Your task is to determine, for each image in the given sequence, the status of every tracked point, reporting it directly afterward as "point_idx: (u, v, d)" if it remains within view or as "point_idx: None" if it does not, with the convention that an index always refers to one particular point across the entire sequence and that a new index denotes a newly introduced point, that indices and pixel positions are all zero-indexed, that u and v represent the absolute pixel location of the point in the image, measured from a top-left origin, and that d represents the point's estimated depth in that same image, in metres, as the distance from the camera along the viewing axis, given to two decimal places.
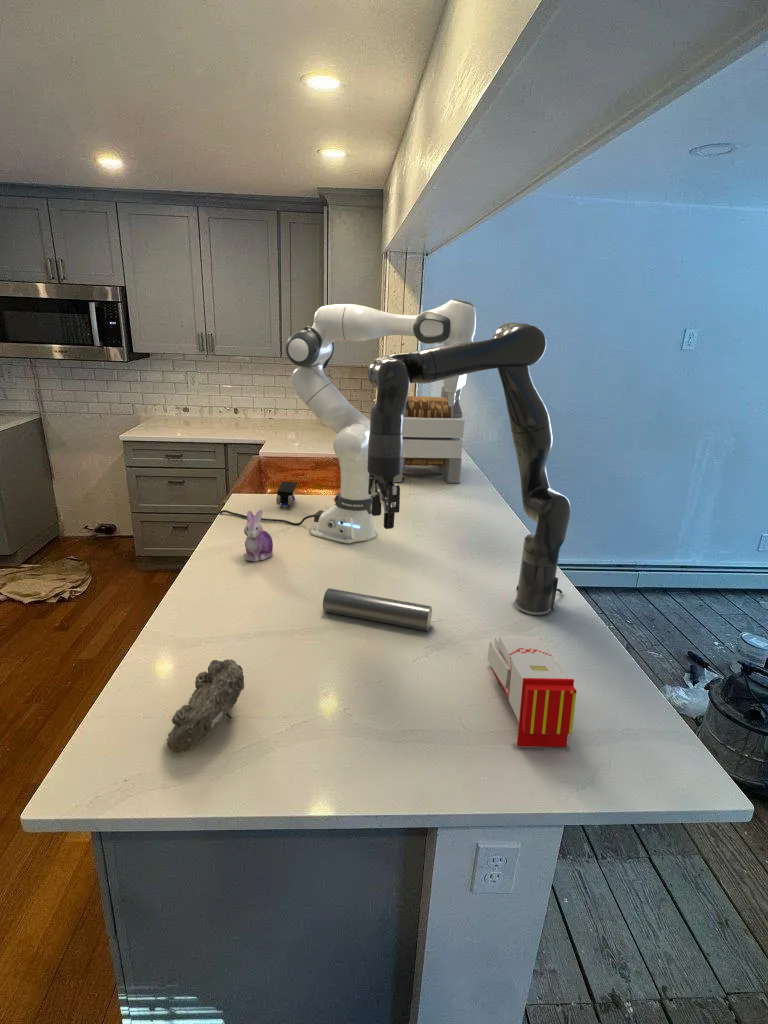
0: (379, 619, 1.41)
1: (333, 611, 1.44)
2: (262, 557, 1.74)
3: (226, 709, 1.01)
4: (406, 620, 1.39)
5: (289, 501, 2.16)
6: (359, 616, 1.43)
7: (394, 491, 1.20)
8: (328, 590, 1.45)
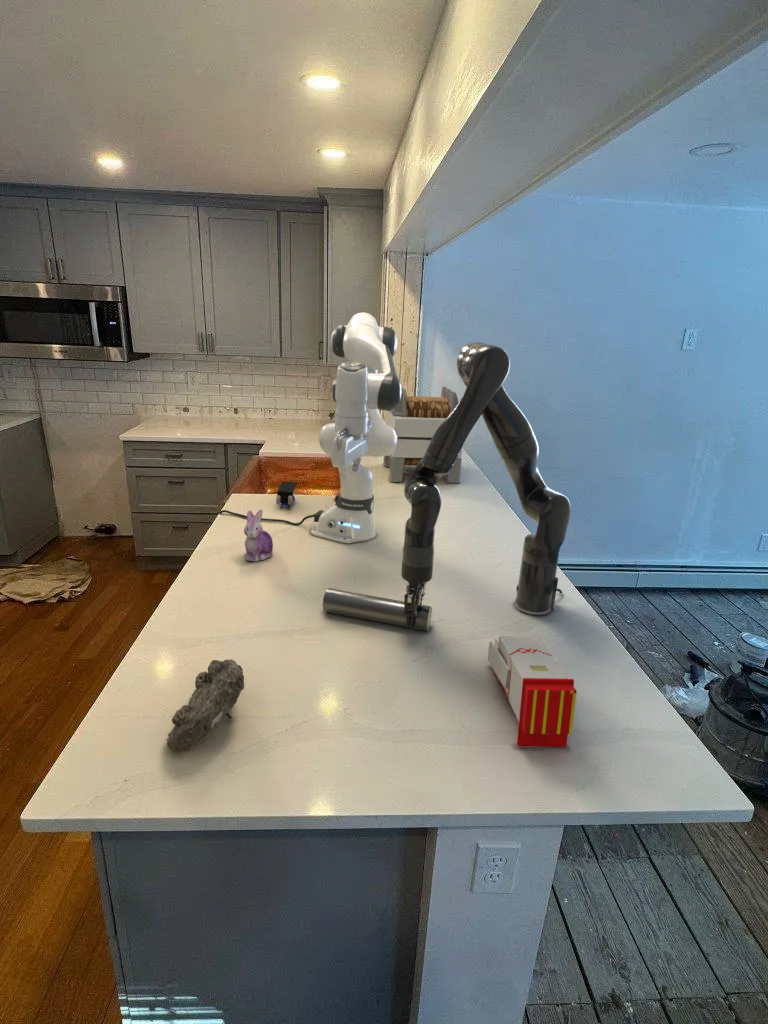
0: (379, 619, 1.41)
1: (333, 611, 1.44)
2: (262, 557, 1.74)
3: (226, 709, 1.01)
4: None
5: (289, 501, 2.16)
6: (359, 616, 1.43)
7: (409, 600, 1.32)
8: (328, 590, 1.45)
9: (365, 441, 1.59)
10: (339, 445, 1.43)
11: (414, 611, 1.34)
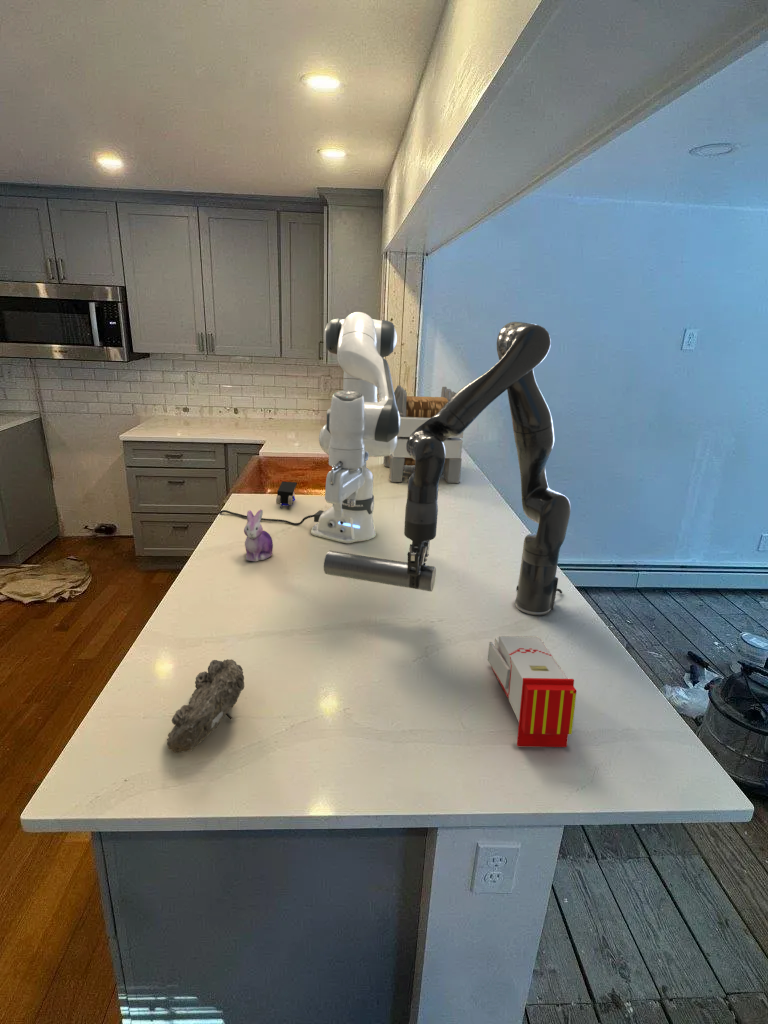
0: (382, 580, 1.37)
1: (334, 573, 1.41)
2: (262, 557, 1.74)
3: (226, 709, 1.01)
4: None
5: (289, 501, 2.16)
6: (361, 578, 1.39)
7: (412, 558, 1.29)
8: (329, 552, 1.42)
9: (362, 474, 1.48)
10: (333, 480, 1.32)
11: (418, 570, 1.31)
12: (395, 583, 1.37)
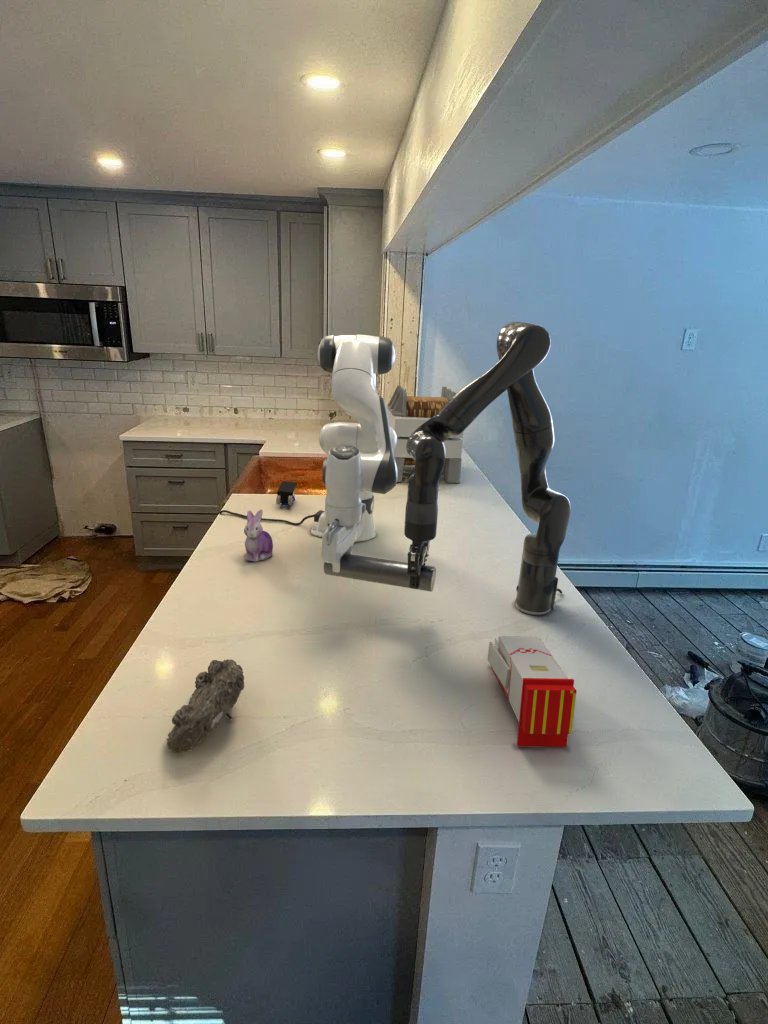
0: (382, 580, 1.37)
1: (334, 573, 1.41)
2: (262, 557, 1.74)
3: (226, 709, 1.01)
4: (409, 581, 1.35)
5: (289, 501, 2.16)
6: (361, 578, 1.39)
7: (412, 558, 1.29)
8: None
9: (359, 526, 1.46)
10: (329, 540, 1.30)
11: (418, 570, 1.30)
12: (395, 583, 1.37)
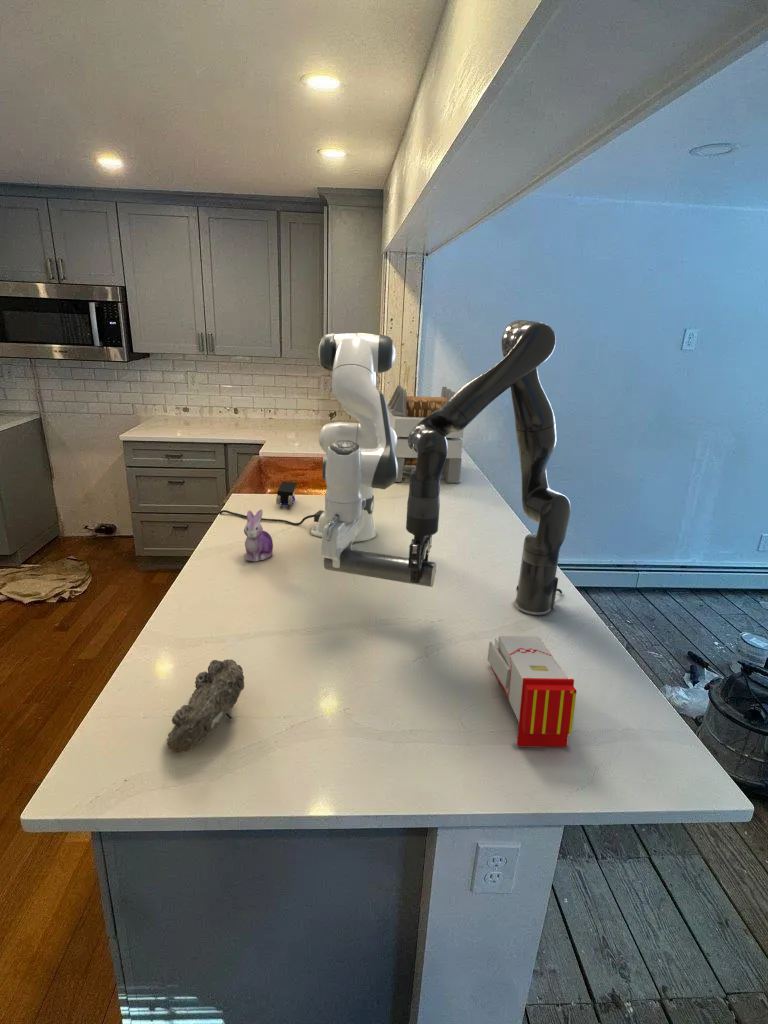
0: (382, 576, 1.37)
1: (334, 569, 1.40)
2: (262, 557, 1.74)
3: (226, 709, 1.01)
4: (410, 576, 1.35)
5: (289, 501, 2.16)
6: (361, 573, 1.39)
7: (414, 550, 1.28)
8: None
9: (359, 521, 1.46)
10: (329, 536, 1.29)
11: (419, 564, 1.29)
12: (395, 579, 1.37)
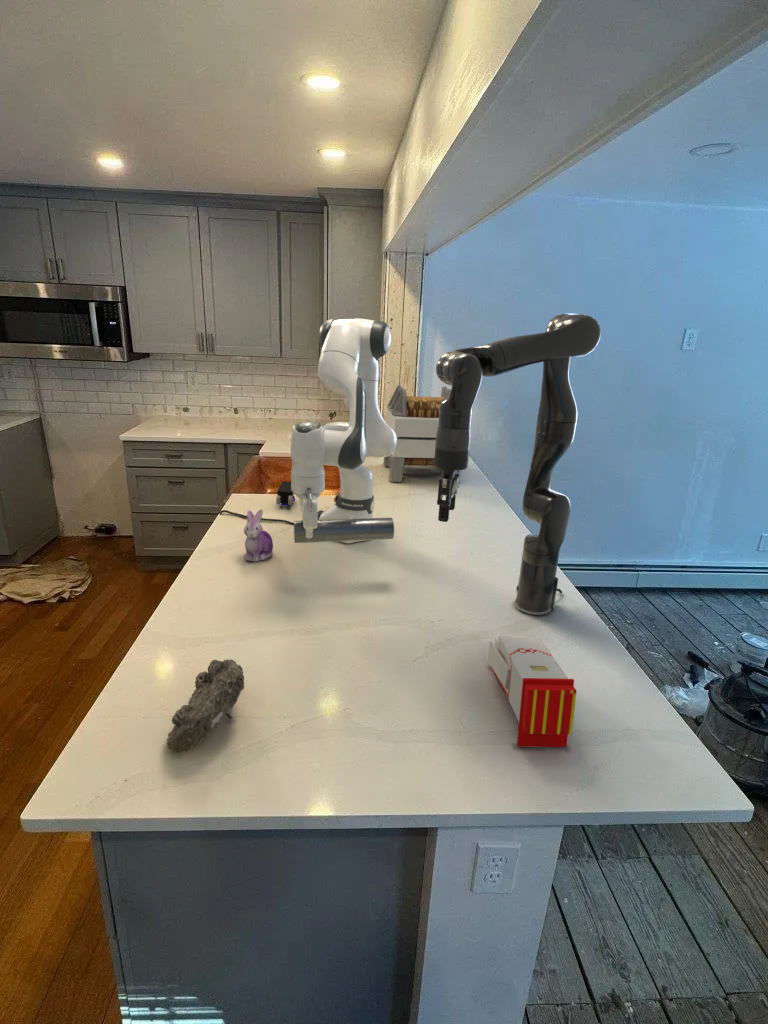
0: (350, 537, 1.55)
1: (305, 540, 1.53)
2: (262, 557, 1.74)
3: (226, 709, 1.01)
4: (375, 533, 1.55)
5: (289, 501, 2.16)
6: (331, 539, 1.54)
7: (444, 484, 1.21)
8: (296, 522, 1.53)
9: None
10: (312, 507, 1.42)
11: (449, 499, 1.22)
12: (362, 537, 1.55)
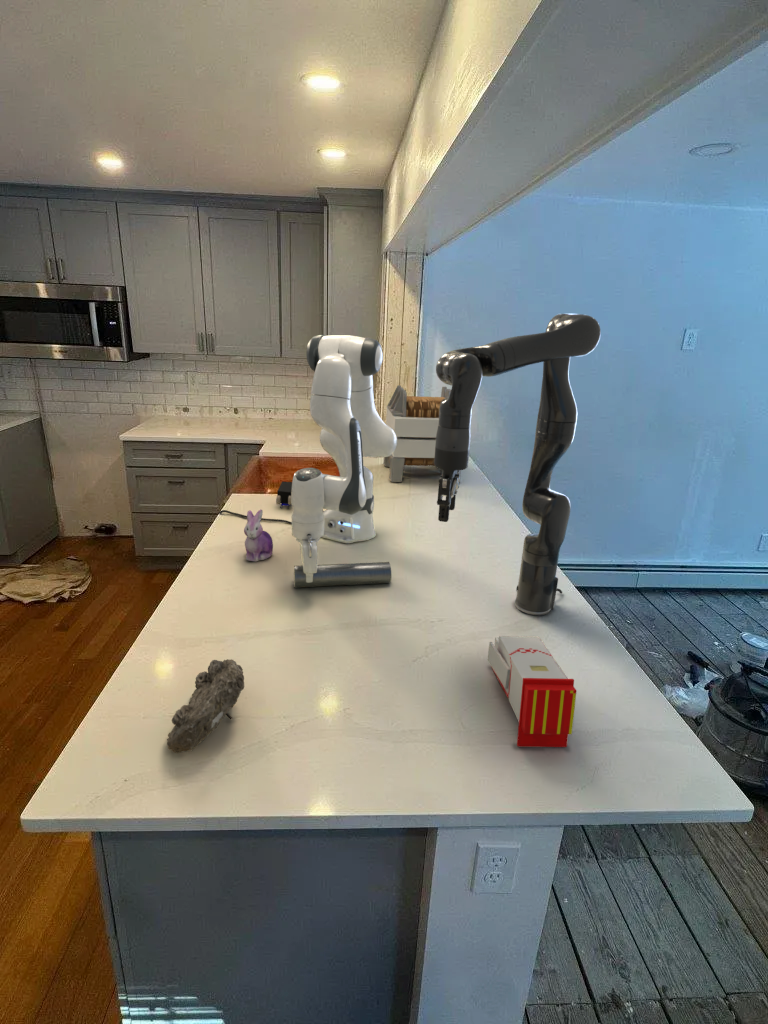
0: (348, 582, 1.59)
1: (305, 585, 1.57)
2: (262, 557, 1.74)
3: (226, 709, 1.01)
4: (373, 577, 1.60)
5: (289, 501, 2.16)
6: (330, 583, 1.59)
7: (444, 484, 1.21)
8: (296, 567, 1.57)
9: None
10: (311, 553, 1.46)
11: (449, 499, 1.22)
12: (360, 582, 1.60)
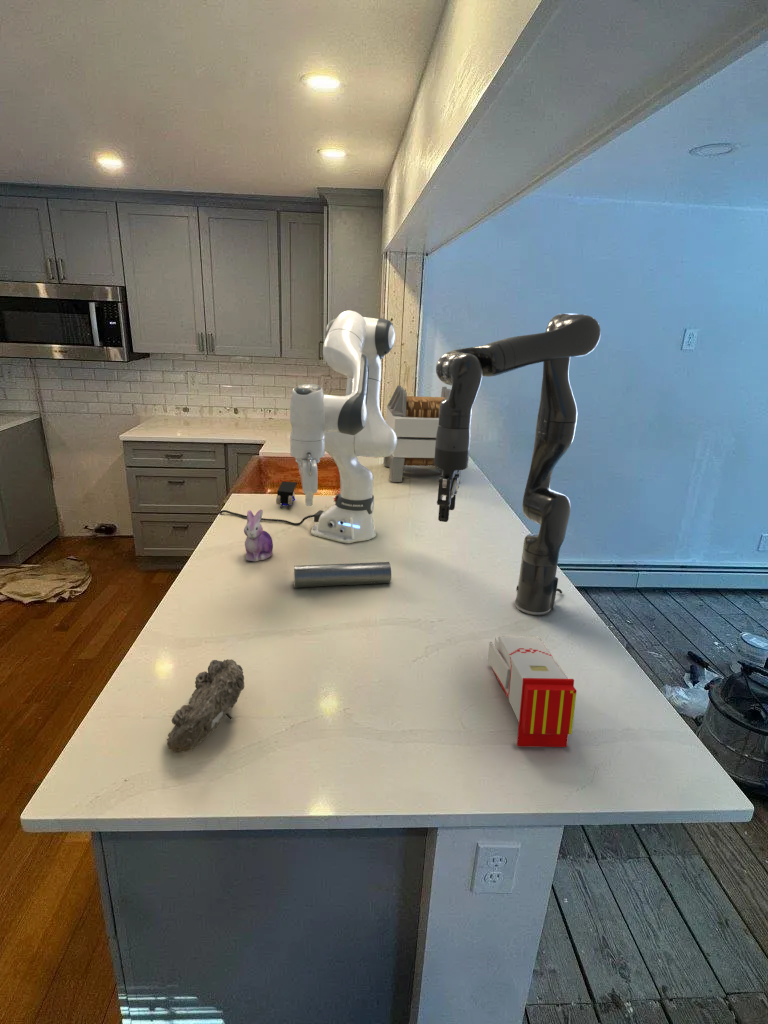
0: (348, 582, 1.59)
1: (305, 585, 1.57)
2: (262, 557, 1.74)
3: (226, 709, 1.01)
4: (373, 577, 1.60)
5: (289, 501, 2.16)
6: (330, 583, 1.59)
7: (444, 484, 1.21)
8: (296, 567, 1.57)
9: None
10: (311, 471, 1.39)
11: (449, 499, 1.22)
12: (360, 582, 1.60)
